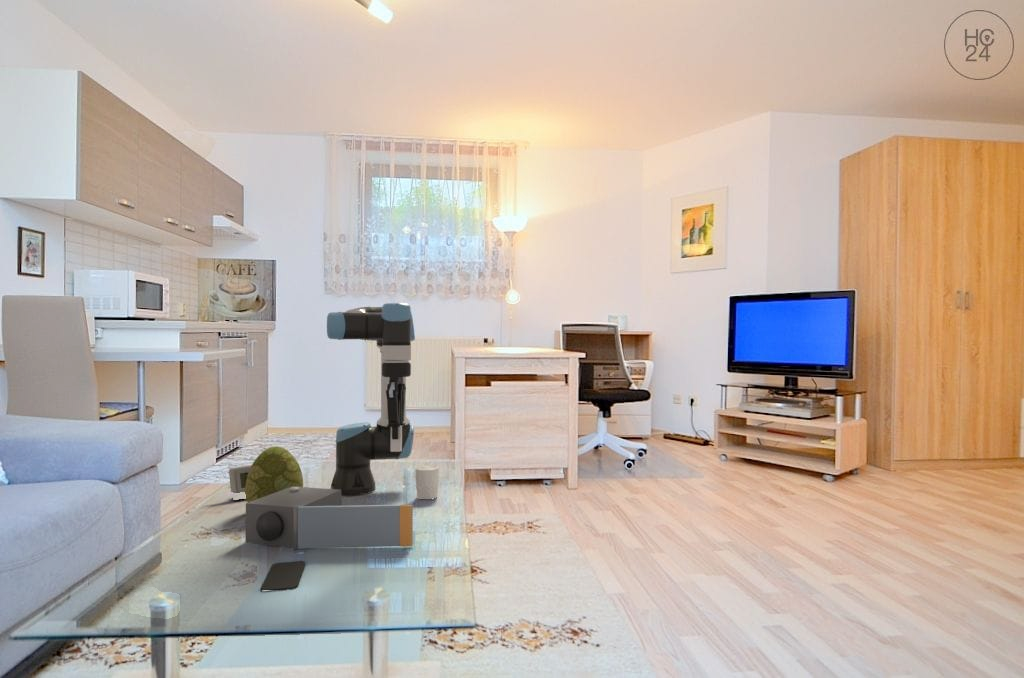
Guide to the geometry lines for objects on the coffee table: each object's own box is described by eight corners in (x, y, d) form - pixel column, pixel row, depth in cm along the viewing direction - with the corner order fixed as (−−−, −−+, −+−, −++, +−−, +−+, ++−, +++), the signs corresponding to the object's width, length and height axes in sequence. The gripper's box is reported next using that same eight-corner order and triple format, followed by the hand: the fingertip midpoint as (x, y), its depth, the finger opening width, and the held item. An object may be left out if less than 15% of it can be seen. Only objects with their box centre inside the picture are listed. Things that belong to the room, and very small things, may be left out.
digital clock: (230, 502, 186) (230, 470, 187) (227, 496, 194) (227, 465, 194) (283, 496, 195) (283, 464, 195) (278, 490, 203) (278, 460, 203)
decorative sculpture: (269, 523, 164) (269, 453, 164) (233, 515, 172) (233, 448, 173) (314, 509, 178) (314, 444, 179) (279, 502, 186) (279, 440, 187)
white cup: (437, 500, 188) (437, 470, 188) (413, 500, 188) (413, 470, 188) (440, 494, 196) (440, 465, 196) (417, 494, 196) (417, 465, 196)
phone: (259, 590, 117) (272, 563, 132) (259, 594, 117) (272, 566, 132) (297, 587, 119) (306, 560, 134) (297, 591, 119) (306, 564, 134)
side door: (412, 545, 144) (412, 503, 145) (411, 547, 143) (411, 505, 143) (294, 547, 143) (294, 505, 143) (292, 549, 142) (292, 507, 142)
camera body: (292, 521, 166) (292, 483, 166) (341, 525, 162) (341, 486, 162) (241, 544, 146) (241, 501, 146) (295, 550, 142) (295, 506, 142)
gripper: (388, 360, 159) (388, 446, 158) (375, 362, 145) (375, 455, 145) (415, 360, 158) (415, 446, 158) (405, 362, 145) (405, 456, 145)
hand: (396, 451), depth 152 cm, fingers closed
